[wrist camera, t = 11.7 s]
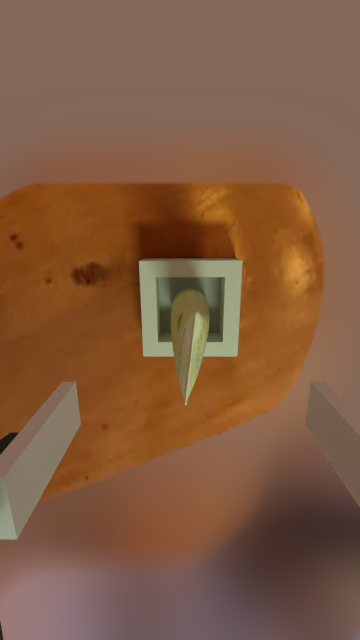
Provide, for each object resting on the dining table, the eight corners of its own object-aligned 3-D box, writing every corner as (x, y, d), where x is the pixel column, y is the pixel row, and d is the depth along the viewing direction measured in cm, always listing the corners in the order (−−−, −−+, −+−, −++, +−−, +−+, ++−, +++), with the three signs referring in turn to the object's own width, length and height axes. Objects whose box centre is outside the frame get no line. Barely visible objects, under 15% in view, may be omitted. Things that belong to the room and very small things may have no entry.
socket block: (147, 344, 42) (143, 356, 38) (144, 258, 39) (138, 261, 34) (232, 344, 42) (237, 356, 38) (236, 257, 38) (242, 260, 34)
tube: (162, 297, 40) (140, 351, 21) (191, 276, 39) (197, 312, 20) (185, 329, 41) (185, 406, 22) (214, 309, 40) (240, 372, 21)
